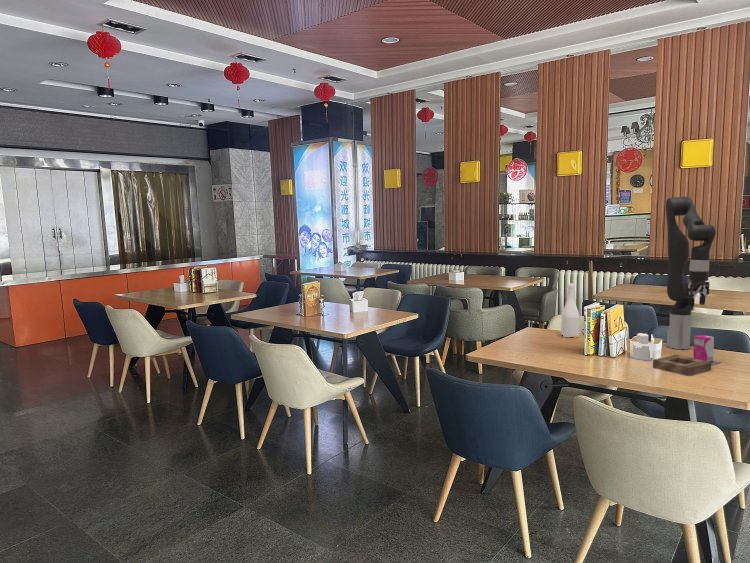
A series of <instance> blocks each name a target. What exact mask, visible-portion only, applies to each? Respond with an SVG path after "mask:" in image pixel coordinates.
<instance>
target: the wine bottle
mask: <svg viewBox="0 0 750 563" xmlns="http://www.w3.org/2000/svg"><path fill="white" fill-rule="evenodd" d="M575 286H576V285H575V283H574V282H573V283H571V282H570V283H569V282H568V283H567V298H566V302H565V305H564V307H563V310H562V313H561V324H560V325H561V327H560V330H561V336H562V335H563V336H569V337H572V336H579V337H580V322H581V321H580V311H579V310H578V307H577V304H576V300H575ZM563 336H562V337H563Z"/></svg>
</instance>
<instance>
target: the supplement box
mask: <svg viewBox="0 0 750 563" xmlns="http://www.w3.org/2000/svg"><path fill="white" fill-rule="evenodd" d="M714 339H715V337H714V336H709V335H704V334H702V335H701V334H699V335H694V336H693V354H692V356H693V357H692V358H694V359H699V360H703V361H708V362H714V361H715V360H714V356H715V355H714V354H715V353H714V350H715V345H714V343H715V340H714Z"/></svg>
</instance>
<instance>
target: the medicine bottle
mask: <svg viewBox="0 0 750 563" xmlns="http://www.w3.org/2000/svg"><path fill="white" fill-rule="evenodd" d="M636 342H639V343H641V344H648V343H652V334H650V333H648V332H638V333H637V334H636ZM635 347H636V346H634V345H633V344H632V359H634V360H641V361H647V362H649V361H651V360H650V350H649V346H646V345H644V346H642V347H641V348H640V347H639V348H638V347H637V348H635Z"/></svg>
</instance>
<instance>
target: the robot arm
mask: <svg viewBox="0 0 750 563" xmlns="http://www.w3.org/2000/svg"><path fill="white" fill-rule="evenodd" d="M665 215H666V224H667V256H668V257H667V260H668V264H667V265H668V266H667V269H668V272H667V284H666V293H667V296H668V297H667V298H669V300H670V301H673V302H675V303H674V305H673V306H671V307H670V309H669V324H668V325H669V326H668V328H667V332H666V347H667V346H668V348H670V349H673V348H674V350H681V349H685V350H689V348H691V347H690V346H691V325H692V324H691V323H692V319H691V318H692V311H693V309H694V307H695V300H696V299H695V298H696V296H697V295H698V294H699V301H698V302H699V305H701V306H704V305H706V298H707V296H708V295H710V281H708V280H709V276H710V275H709V273H710V252H711V248H712V244H713V242H714V239H715V236H716V229H715V226H713V225H711V224H705V222H704V220H703V219H702V218H701V217H700V215H699V214H698V212H697V210H696V207H695V204H694V202H693V200H692V199H691V197H689V196H675V197H668V198H667V199H666V202H665ZM682 216H683V218H682V224H683V225H684V227H685V228H686V229H687V236H686V235H685V234H684V232H683V231H682V230H681V228H680V227H679V226H678V223H677V219H676V217H682ZM688 239H689V240H690V241H693V242H702V244H700V245H695V246H692V247H691V249H690V242H689V240H688ZM690 250H691V251H690ZM689 256H690V257H689ZM689 258H690V262H689V268H688V269H689V270H688V280H689V281H691V282H689V281H683V273H684V270H685V267H686V266H687V265H686V264H687V262H688V260H689Z"/></svg>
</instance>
